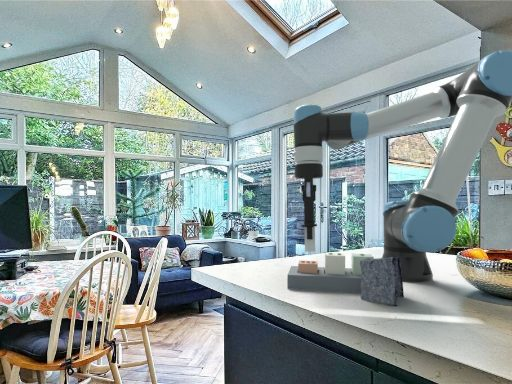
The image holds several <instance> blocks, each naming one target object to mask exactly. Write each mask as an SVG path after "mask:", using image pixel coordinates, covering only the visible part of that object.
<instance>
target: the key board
mask: <svg viewBox="0 0 512 384" xmlns="http://www.w3.org/2000/svg"><path fill="white" fill-rule="evenodd" d="M286 275H287V279H286V281H287V283H286V284H287V290H301V291H303V290H304V291H320V292H321V291H323V292H325V291H326V292H338V293H339V292H341V293H342V292H343V293H359V294H360V293H362V290H361V275H353V274H352V267H351V268H349V267H347V268H346V267H345V275H340V274H325V266H324V267H322V266H318V274H317V273H298V265H291V266H290V268H289V270H288V273H287V274H286Z"/></svg>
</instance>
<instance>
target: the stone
mask: <svg viewBox="0 0 512 384" xmlns="http://www.w3.org/2000/svg"><path fill="white" fill-rule="evenodd" d="M399 258H400V257H390V258H382V257H379V258H374V259H372V258H366V259H364V260H361V261H360V266H361V271H362V274H361V290H362V293H361V295H360V299H361V300H362V301H366V302H372V303H377V304H381V305H385V306H391V307H398V305H397V297H400V298H405V293H404V283H403V282H404V281H402V272H401V263H400V260H399Z"/></svg>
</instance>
